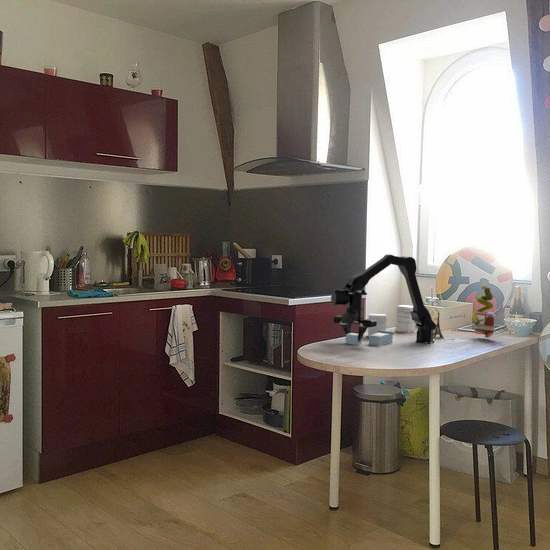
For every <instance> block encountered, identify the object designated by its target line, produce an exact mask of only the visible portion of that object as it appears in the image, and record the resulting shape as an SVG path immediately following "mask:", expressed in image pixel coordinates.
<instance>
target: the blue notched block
mask: <svg viewBox="0 0 550 550" xmlns="http://www.w3.org/2000/svg"><path fill="white" fill-rule="evenodd" d="M378 332H380V333H376V334H372V335H369V337H368V345H370V346H371V345H372V346H377V347H380V346H383V345H387V344H391V343H393V340H394V339H393V336H394V335H395V334H396V331H393V330H386V331H385V330H378Z"/></svg>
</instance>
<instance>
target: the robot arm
mask: <svg viewBox="0 0 550 550" xmlns="http://www.w3.org/2000/svg"><path fill="white" fill-rule="evenodd" d="M390 265H391V266H392V265H394V266H397V267H398V269H399V271H400V272H401V274H402V276H403V277H404V279H405V282H406V286H407V291H408V293H409V296H410V297H409V298H410V299H411V304H412V306H413V311H410V314H411V316H412V320H414V322H415V327H417V331H416V334H415V335H416V340H415V342H416V343H423V344H432V343H435V340H434V339H433V337H434V336H433V333H434V331H435V329H436V326H437V323H435V322H434V321H433V319H432V316H431V313H430V310H429V309H428V308H427V307H426V305H425V304H424V300H423V298H422V297H423V296H422V293H421V290H420V286H419V282H418V279H417V276H416V275H417V270H418V269H417V261H416V259H415V258H414V257H413V256H406V255H403V256H396V255H394V254H385V255H384V256H383V257H382V258H380V259H379V260H378V261H376V262H374V263H373V264H371V265H370V266H368V267H367V268H366V269H364V270H362V271H360V272H358V273H356V274H353V275H350V276H349V278H348V279H347V282H346V283H345V285H344V287H343V288H342V289H335V288H334V289H333V292H331V296H330V303H331V305H332V306H347V305H348V307H346V309H345V310H346V311H345V312H344V313H343V314H341V315H335V316H333V318H332V323H333V324H339V325H338V326H341V328H342V329H343V331H344V334H345V335H346V334H349V333H351V328H352V324H355V325H356V324H357V325H359V326H357V329H358V333H357V334H358V342H360V341H361V339H363V337H364V336H365V333H366V331H367V330H368V328H369V327H375V326H377V322H376V320H374V319H369V318H367V319H364V317H363V316H362V311H363V310H364V307H363V296H367V295H368V293H367V292H366V291H365V290H364V288H365V287H366V286H367V285H368V283H369V282H370V281H371V279H373V278H374V277H375V276H377V275H378V274H380V273H381V272H382V271H384V270H385V269H386V268H388V267H389V266H390Z"/></svg>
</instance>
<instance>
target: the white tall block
mask: <svg viewBox="0 0 550 550" xmlns="http://www.w3.org/2000/svg"><path fill="white" fill-rule="evenodd" d="M410 311H413V305H405V304H401V305H397V306H396V313H395V332H399V333H409V334H410V333H413V332H415V331H416V323H415V322H414V320H412V316H411V314H410Z"/></svg>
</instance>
